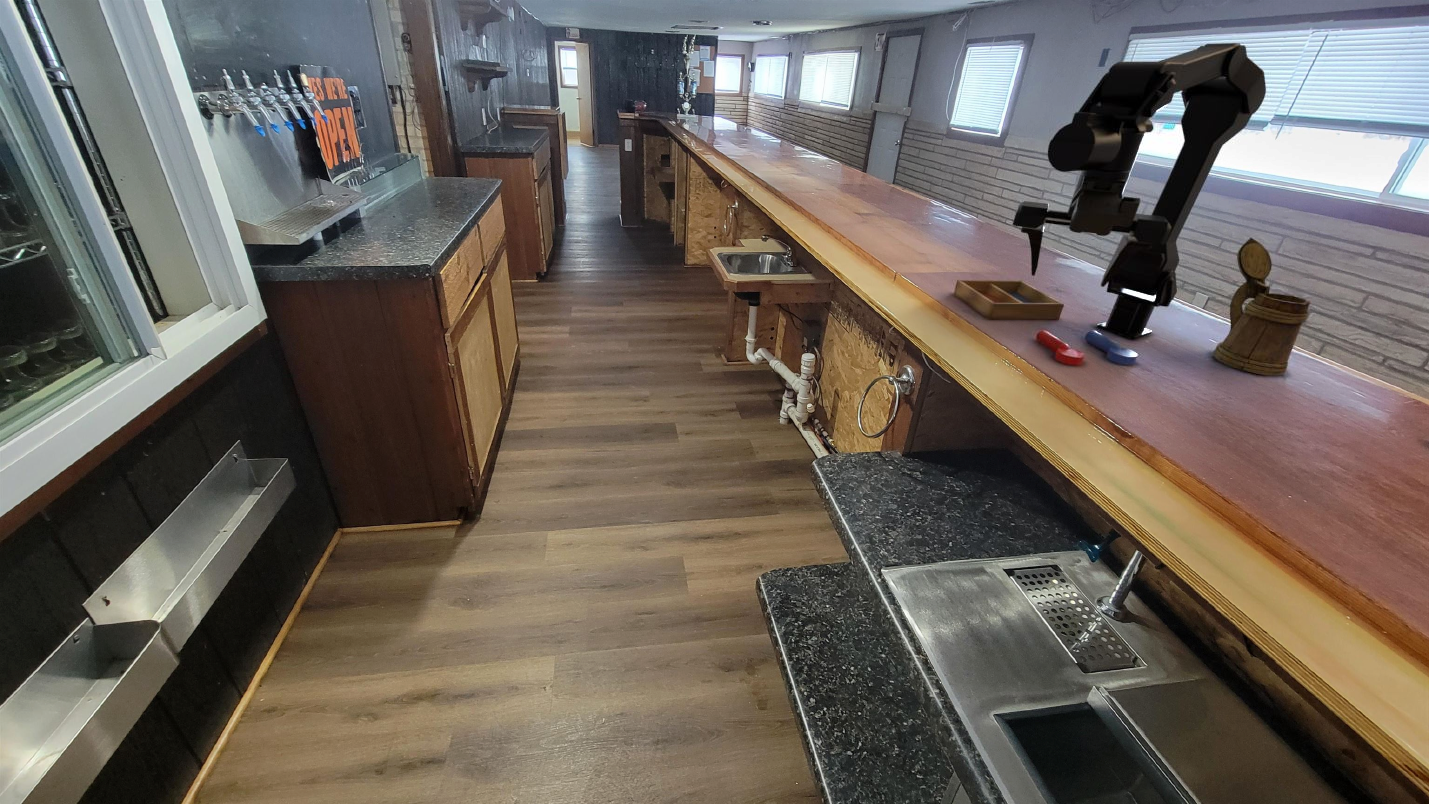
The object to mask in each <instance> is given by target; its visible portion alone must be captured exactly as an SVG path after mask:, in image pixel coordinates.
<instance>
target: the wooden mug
mask: <svg viewBox="0 0 1429 804" xmlns="http://www.w3.org/2000/svg"><path fill="white" fill-rule="evenodd" d="M1236 260H1237V261H1236V262H1237V266H1238V269H1239V272H1240V274H1241V275H1242V276H1243V278H1244V279H1245V282H1244V283H1242V284H1241V285H1240V286H1239V287H1238V288H1237V289H1236V291H1235V292H1234V294H1233V295H1232V297H1231V301H1230V305H1229V320H1230V325H1229V326H1230V329H1229V331H1228V334H1226V335H1227V336H1225V338H1224V339H1223V341H1220V342H1218V343H1217V345H1216V346H1215V349H1214V350H1213V353H1212V355H1213V358H1214V359H1216V360H1217V361H1218V362H1220V363H1221V364H1224V365H1225V366H1228V367H1230V368H1233V369H1237V370H1240V371H1244V372H1248V373H1251V374H1256V375H1262V376H1282V375H1284V374H1285V373H1286V372H1287V369H1288V365H1289V362H1288V361H1289V359H1290V356H1291V354H1292V351H1293V349H1294V346H1295V343H1296V341H1297V338H1298V335H1299V333H1300V330H1301V328H1302V326H1303V323H1305V322H1307V319H1308V316H1309V313H1310V312H1309V307H1310V304H1311V300H1309V299H1307V298H1304V297H1301V296H1297V295H1293V294H1287V293H1286V294H1285V293H1277V292H1270V290H1271V287H1270V286H1269V285H1267V283H1266V279H1267V278H1268V277H1269V275H1270V273H1271V272H1272V266H1273V264H1272V258H1271V255H1270V253H1269V251H1268V250H1267V249H1266V247H1265V246H1264V245H1263V244H1262V243H1260V242H1259V241H1258V240H1256V239H1255V238H1253V237H1249V239H1247V240H1246V241H1245V242H1244V243H1243V244H1242V245H1241V246H1240V248H1239V249H1238V251H1237V254H1236ZM1249 299H1251V300H1250V301H1249V302H1247V303H1246V304H1245V306H1244V307H1243V305H1244V303H1245V302H1246V301H1247V300H1249Z"/></svg>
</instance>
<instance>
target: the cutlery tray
mask: <svg viewBox="0 0 1429 804" xmlns="http://www.w3.org/2000/svg"><path fill="white" fill-rule="evenodd" d="M953 295H954V296H955V297H957V298H958V299H960V300H961V301H962V302H964V303H965V304H967V305H968V306H969V307H971V308H972V309H974V310H975V311H976V312H977V313H979V314H981V315H982V316H983V317H985V318H986V319H987V320H1060V317H1061V315H1062V312H1063V311H1064V306H1065V303H1063V302H1061V301H1060V300H1057V299H1056V298H1054V297H1052V296H1051V295H1049V294H1047V293H1045V292H1044V291H1042V290H1040V289H1038V288H1036V287H1034V286H1032V285H1030V284H1029V283H1027V282H1025V281H1023V280H1010V279H1009V280H1007V279H1006V280H1005V279H1004V280H1001V279H999V280H998V279H997V280H995V279H994V280H993V279H992V280H991V279H989V280H988V279H985V280H984V279H956V284H955V287H954V291H953Z"/></svg>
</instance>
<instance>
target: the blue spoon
mask: <svg viewBox="0 0 1429 804" xmlns="http://www.w3.org/2000/svg"><path fill="white" fill-rule="evenodd" d="M1084 338H1085V340H1086V341H1087V342H1088V343H1089V344H1092V345H1093V346H1094V347H1097V348H1098V349H1100V350H1102V351H1103V352H1105V353H1106V358H1107V360H1108V361H1110V362H1112V363H1115V364H1119V365H1123V366H1124V365H1125V366H1132V365H1134V364H1135V362H1136V360H1137V358H1138V353H1136V352H1135V351H1133V350H1131V349H1128V348H1124V347H1122V346H1121V345H1120V344H1119V343H1117V342H1116V341H1115V340H1112V339H1111V338H1109V337H1107V336H1105V335H1104V334H1101V333H1100V332H1098V331H1096V330H1093V329H1092V330H1088V331H1087V332H1085V335H1084Z"/></svg>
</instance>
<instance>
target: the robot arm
mask: <svg viewBox="0 0 1429 804" xmlns="http://www.w3.org/2000/svg"><path fill="white" fill-rule="evenodd" d="M1266 85H1267V84H1266V77H1265V71H1264V70H1263V69H1262V68H1261V67H1260V66H1259V65H1258V64H1256V63H1255V62H1254V61H1253V60H1252V59H1250V58H1249V57H1248V51H1247V47H1246V45H1245V44H1241V43H1240V42H1226V43H1225V42H1222V43H1206V44H1204V45H1200V46H1199V47H1197V48H1196V49H1193V50H1189V51H1187V52H1183V53H1180V54H1177V55H1173V56H1170V57H1167V58H1163V59H1161V60H1158V61H1117V62H1116V63H1114V64H1113V65H1112V66H1111V67H1109V69H1108V71H1107V72H1106V73H1105V74H1104V75H1103V76H1102V77H1101V79H1100V80H1099V82H1098V83H1097V85H1096V86H1095V87H1094V88H1093V89H1092V91H1091V92H1090V93H1089V96H1088V97H1087V98H1086V100H1085V101H1084V102H1083V104H1082V105H1081V107H1080V108H1079V110H1078V111H1076V112H1074V113H1073V116H1072V120H1071V122H1070V123H1067V124H1066V125H1064V126H1063V127H1061V128H1060V129H1058V131H1057V132H1056V133H1055V134H1054V135H1053V137H1052V139H1051V140H1050V141H1049V144H1048V147H1047V159H1048V162H1049V165H1050V166H1051V167H1053V168H1054V169H1055V170H1056V171H1059V172H1062V173H1068V172H1080V173H1079V176H1078V179H1077V183H1076V185H1075V188H1074V189H1075V190H1074V191H1073V194H1072V198H1071V200H1070V204H1069V207H1068V209H1067V211H1063V210H1053V209H1049V207H1050V204H1049V203H1045V202H1035V201H1027V200H1025V201H1022V202H1020V203H1019V204H1018V206H1017V209H1016V212H1015V215H1014V219H1013V221H1012V226H1015V227H1019V228H1020V233H1022V234H1027V237H1028V241H1029V246H1030V257H1031V258H1030V264H1031V270H1030V271H1031V276H1033V277H1034V276H1036V272H1037V269H1038V266H1039V259H1040V253H1041V247H1042V241H1043V236H1044V230H1045V225H1046V224H1048V225H1049V224H1050V225H1058V226H1067V227H1068V229H1069V230H1070V231H1071V232H1073V233H1075V234H1076V233H1077V234H1082V233H1088V234H1096V235H1097V236H1101V237H1106V236H1109V235H1110V234H1111V233H1112V232H1116V233H1121V234H1122V233H1124V234H1123V235H1122V237H1121V239H1120V241H1119V243H1118V244H1117V245H1118V246H1117V247H1116V248H1115V251H1114V253H1113V256H1112V258H1111V259H1110V261H1109V264H1108V266H1107V267H1106V270H1105V272H1104V273H1103V276H1102V279H1101V282H1100V287H1102V288H1104V287H1105V286H1106V285H1107V286H1106V293H1109V294H1113V295H1117V297H1116V299H1115V301H1114V304H1113V307H1112V309H1111V311H1110V314H1109V316H1108V319H1107V320H1106V321H1103V322H1099V323H1097V325H1096V328H1099V329H1102V330H1105V331H1108V332H1111V333H1114V334H1117V335H1120V336H1123V337H1125V338H1129V339H1132V340H1135V339H1139V338H1141V337H1145V336H1147V335H1150V334H1153V333H1152V332H1153V330H1151V329H1148V328H1147V325H1148V323H1149V320H1150V318H1151V316H1152V314H1153V312H1154V309H1155V307H1156V308H1159V307H1165V308H1168V307H1169V306H1170V304H1171V303H1172V301H1174V299H1175V297H1176V295H1177V292H1178V285H1177V273H1176V271H1177V268H1178V265H1179V263H1180V256H1179V250H1178V246H1177V241H1178V238H1179V237H1180V234H1181V233H1182V230H1183V229H1184V226H1185V224H1186V223H1187V220H1188V217H1189V215H1190V213H1191V211H1192V209H1193V207H1194V205H1195V203H1196V201H1197V199H1198V197H1199V195H1200V193H1201V191H1202V189H1203V187H1204V184H1205V183H1206V181H1207V178H1208V177H1209V174H1210V172H1211V170H1212V168H1213V166H1214V164H1215V162H1216V160H1217V158H1218V155H1219V153H1220V151H1221V150H1222V148H1223V146H1224V145H1225V144H1227V142H1229V141H1230V140H1231V139H1233V138H1234V137H1235V136H1237V134H1239V133H1240V132H1242V131H1243V130H1244V129H1245V128H1246V127H1247V125H1248V123H1249V122H1250V120H1251V119H1252V116H1253V115H1254V114H1255V113H1257V111H1258V110H1259V109H1260V108H1261V106H1262V104H1263V102H1264V100H1265V97H1266V93H1267V86H1266ZM1180 92H1181V93H1180ZM1177 93H1180V95H1181V98H1182V102H1183V106H1184V110H1183V114H1182V117H1181V118H1180V124H1181V125H1180V126H1181V129H1182V130H1181V131H1182V134H1183V140H1184V141H1183V144H1182V146H1181V148H1180V151H1179V153H1178V154H1177V157H1176V160H1175V162H1174V164H1173V166H1172V168H1171V170H1170V172H1169V175H1168V177H1167V179H1166V182H1165V184H1164V186H1163V188H1162V190H1161V193H1160V195H1159V197H1158V199H1157V201H1156V203H1155V205H1154V207H1153V210H1152V212H1151V214H1147V213H1146V214H1144V213H1137V212H1138V210H1139V207H1140V204H1141V198H1140V197H1134V196H1133V197H1131V196H1123V194H1124V191H1125V188H1126V186H1127V184H1128V181H1129V178H1130V176H1131V173H1132V170H1133V167H1134V165H1135V162H1136V160H1137V157H1138V154H1139V152H1140V149H1141V146H1142V144H1143V141H1144V139H1145V135H1146V133H1152V132H1153V130H1154V124H1153V122H1152V121H1151V120H1150V118H1153V116H1154V115H1156V113H1157V112H1158V111H1160V110H1162V109H1163V108H1164V107H1166V106H1168V105H1169V104H1171V103H1172V102H1173V98H1174V95H1175V94H1177Z"/></svg>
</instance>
